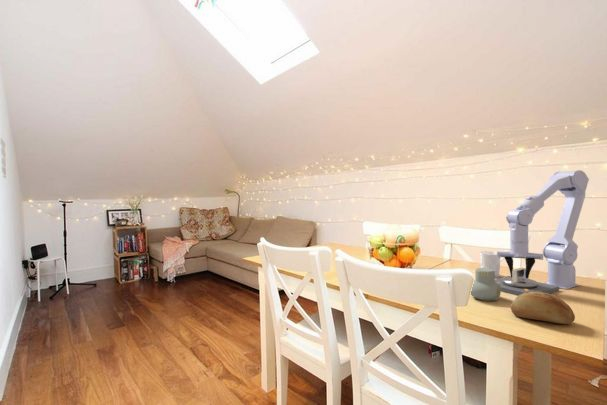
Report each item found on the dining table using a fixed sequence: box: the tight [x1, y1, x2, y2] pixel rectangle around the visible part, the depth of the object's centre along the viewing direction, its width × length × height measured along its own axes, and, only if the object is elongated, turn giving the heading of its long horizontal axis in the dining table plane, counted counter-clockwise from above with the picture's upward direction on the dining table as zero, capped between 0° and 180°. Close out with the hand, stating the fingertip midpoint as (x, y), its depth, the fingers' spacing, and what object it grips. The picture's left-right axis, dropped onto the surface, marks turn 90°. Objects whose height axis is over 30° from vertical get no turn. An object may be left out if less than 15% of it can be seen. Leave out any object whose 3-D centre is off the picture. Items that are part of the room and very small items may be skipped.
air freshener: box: [470, 267, 502, 302], centre depth 115 cm, size 11×8×10 cm
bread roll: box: [510, 292, 576, 325], centre depth 95 cm, size 10×15×8 cm, turn 53°
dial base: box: [495, 275, 560, 296], centre depth 125 cm, size 18×18×2 cm
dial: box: [502, 267, 538, 288], centre depth 125 cm, size 11×11×6 cm
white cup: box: [479, 250, 501, 278], centre depth 144 cm, size 8×8×10 cm
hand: (519, 277), depth 125 cm, fingers open, 4 cm apart
